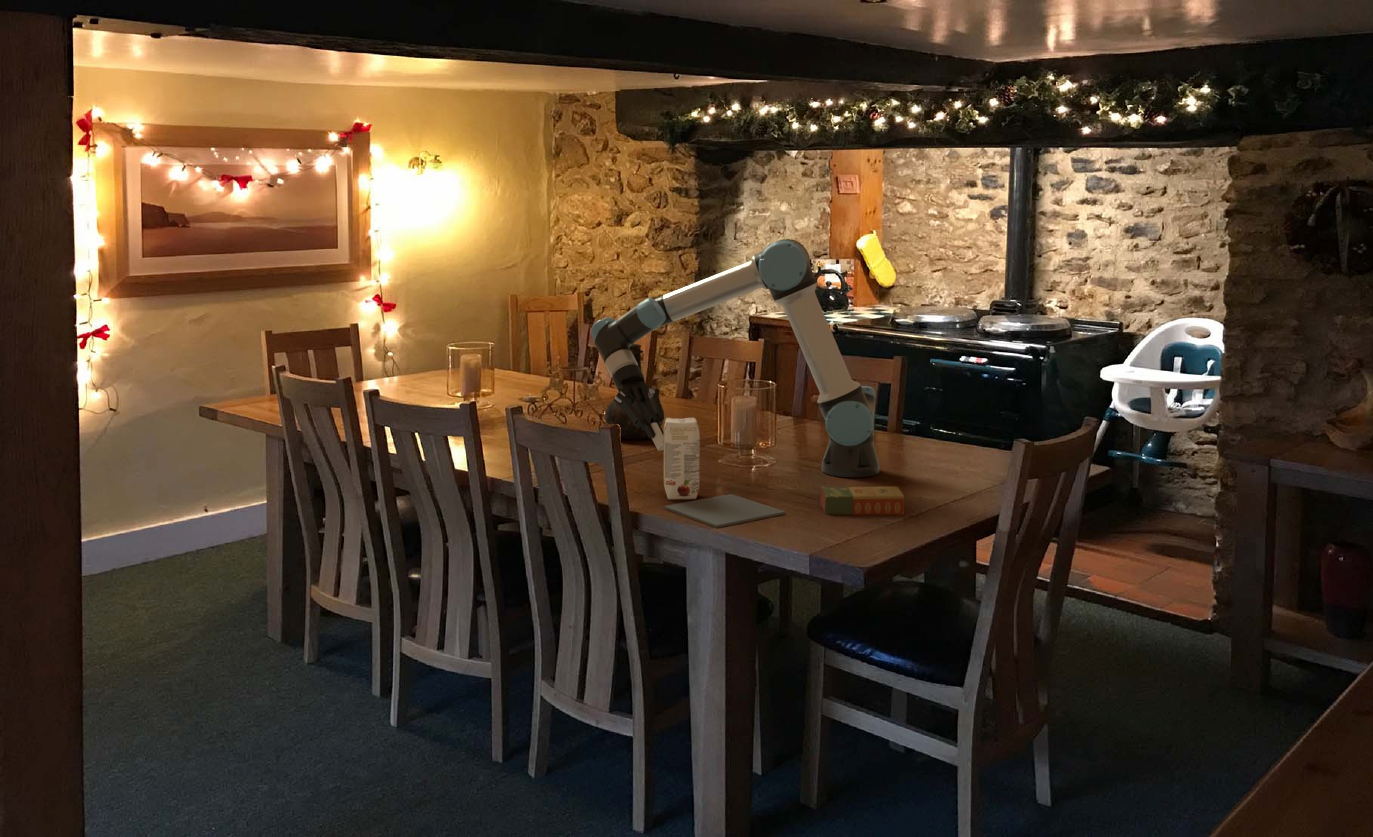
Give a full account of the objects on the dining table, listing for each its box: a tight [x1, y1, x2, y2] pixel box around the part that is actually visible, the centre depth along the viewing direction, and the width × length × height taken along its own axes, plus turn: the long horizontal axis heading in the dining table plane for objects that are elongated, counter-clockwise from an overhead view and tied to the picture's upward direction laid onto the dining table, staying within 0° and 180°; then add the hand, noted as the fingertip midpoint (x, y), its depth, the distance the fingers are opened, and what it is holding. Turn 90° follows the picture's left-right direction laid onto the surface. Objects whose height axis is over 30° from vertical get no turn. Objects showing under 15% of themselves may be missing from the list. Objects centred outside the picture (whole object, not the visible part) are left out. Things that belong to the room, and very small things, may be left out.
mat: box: [663, 493, 786, 529], centre depth 278 cm, size 20×20×1 cm
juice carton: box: [662, 417, 701, 500], centre depth 290 cm, size 8×9×19 cm
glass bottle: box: [604, 343, 665, 440], centre depth 360 cm, size 18×18×28 cm
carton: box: [819, 485, 905, 515], centre depth 281 cm, size 10×18×5 cm, turn 90°
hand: (662, 447), depth 295 cm, fingers closed
